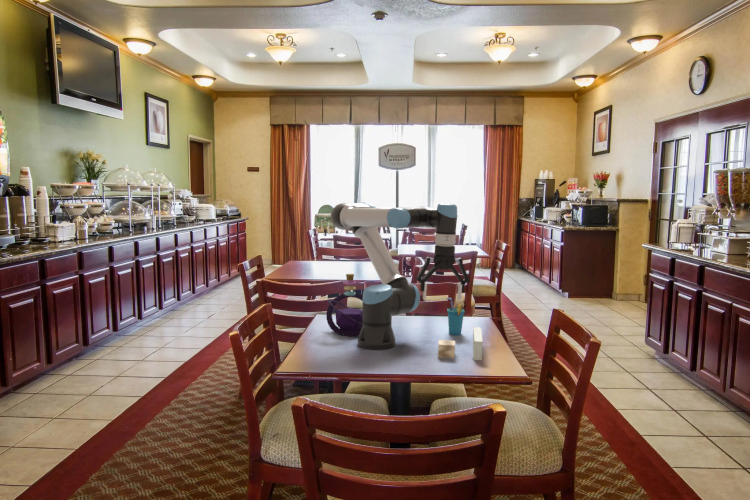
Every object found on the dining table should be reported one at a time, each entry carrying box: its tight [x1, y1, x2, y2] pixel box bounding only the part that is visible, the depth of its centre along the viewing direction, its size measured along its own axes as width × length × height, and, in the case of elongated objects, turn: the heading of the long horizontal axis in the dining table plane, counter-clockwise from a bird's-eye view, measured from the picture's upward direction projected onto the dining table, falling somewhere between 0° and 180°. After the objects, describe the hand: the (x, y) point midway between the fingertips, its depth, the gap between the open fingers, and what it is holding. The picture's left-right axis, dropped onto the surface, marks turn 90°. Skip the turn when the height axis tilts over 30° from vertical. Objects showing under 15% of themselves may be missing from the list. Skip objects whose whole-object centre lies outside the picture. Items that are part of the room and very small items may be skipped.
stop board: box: [472, 326, 484, 361], centre depth 196 cm, size 3×20×7 cm, turn 170°
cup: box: [446, 297, 466, 336], centre depth 220 cm, size 14×8×15 cm, turn 22°
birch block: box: [437, 339, 456, 359], centre depth 191 cm, size 6×6×5 cm
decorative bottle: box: [326, 273, 363, 337], centre depth 221 cm, size 22×21×25 cm
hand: (441, 300), depth 194 cm, fingers open, 13 cm apart
